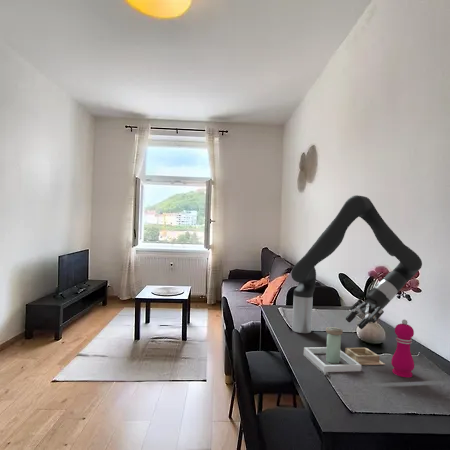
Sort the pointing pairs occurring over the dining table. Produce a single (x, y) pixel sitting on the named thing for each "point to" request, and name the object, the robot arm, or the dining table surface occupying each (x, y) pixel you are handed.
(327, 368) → the tray
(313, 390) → the dining table surface
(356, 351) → the holder
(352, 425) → the dining table surface
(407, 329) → the pepper mill
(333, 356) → the green lidded jar
